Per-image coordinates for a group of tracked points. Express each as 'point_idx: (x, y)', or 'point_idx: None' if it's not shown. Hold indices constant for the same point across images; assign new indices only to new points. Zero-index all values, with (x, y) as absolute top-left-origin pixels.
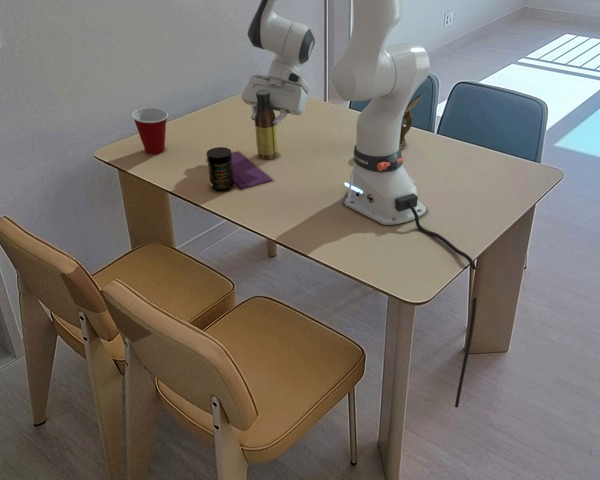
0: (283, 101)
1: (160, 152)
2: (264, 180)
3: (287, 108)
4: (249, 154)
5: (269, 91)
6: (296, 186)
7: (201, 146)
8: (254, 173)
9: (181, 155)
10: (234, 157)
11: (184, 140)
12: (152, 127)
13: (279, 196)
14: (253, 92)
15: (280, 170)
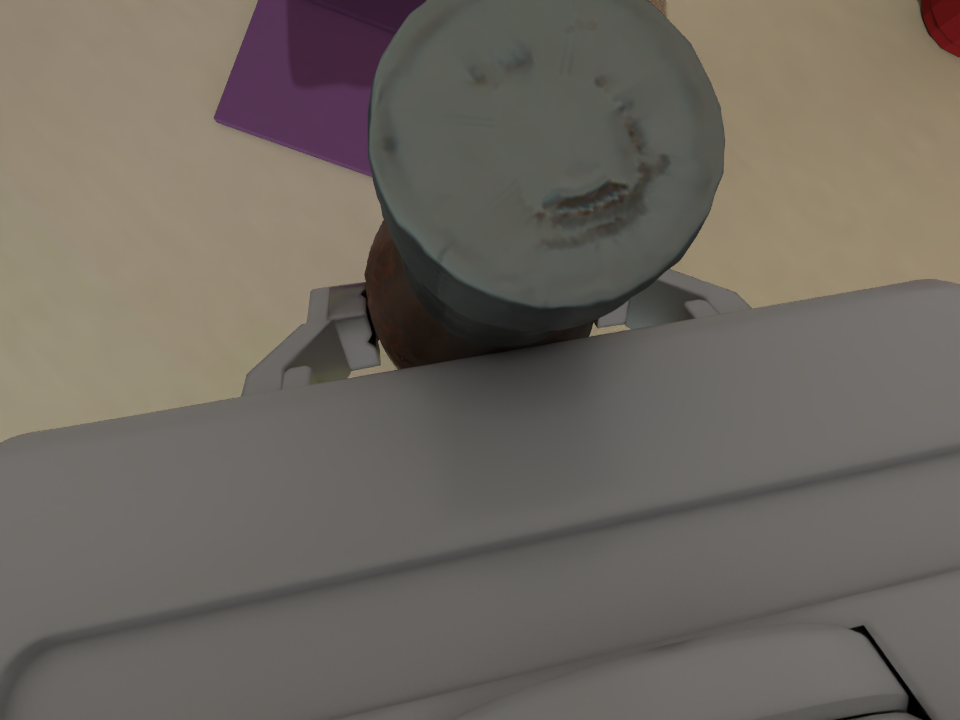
0: (253, 464)
1: (925, 3)
2: (239, 81)
3: (155, 412)
4: None
5: (442, 252)
6: (54, 153)
7: (832, 196)
8: (347, 113)
9: (824, 53)
10: None
11: (955, 193)
12: None
13: (53, 8)
14: (917, 380)
15: (269, 247)
